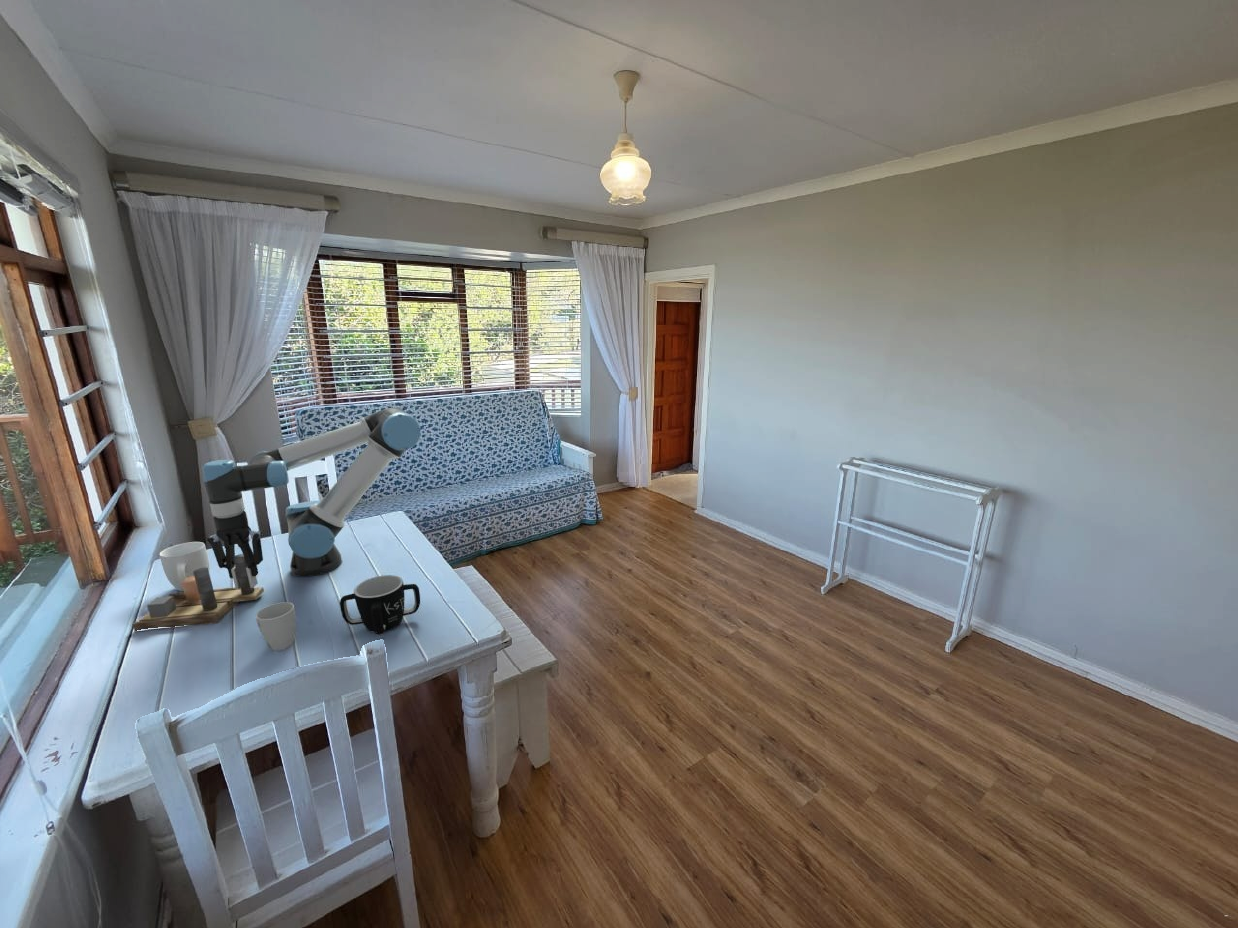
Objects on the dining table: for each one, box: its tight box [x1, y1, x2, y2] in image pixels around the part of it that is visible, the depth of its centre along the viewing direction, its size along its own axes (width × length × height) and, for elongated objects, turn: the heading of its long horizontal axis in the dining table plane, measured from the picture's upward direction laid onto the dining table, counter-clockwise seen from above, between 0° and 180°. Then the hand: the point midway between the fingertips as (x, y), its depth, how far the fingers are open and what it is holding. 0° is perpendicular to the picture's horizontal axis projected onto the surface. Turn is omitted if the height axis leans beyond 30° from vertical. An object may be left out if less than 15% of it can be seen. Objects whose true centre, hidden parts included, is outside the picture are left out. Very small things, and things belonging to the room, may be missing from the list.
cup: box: [255, 601, 297, 652], centre depth 128 cm, size 8×8×10 cm
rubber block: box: [146, 595, 177, 618], centre depth 139 cm, size 4×4×4 cm
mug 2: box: [339, 574, 421, 635], centre depth 136 cm, size 16×16×12 cm
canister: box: [182, 576, 201, 602], centre depth 147 cm, size 5×5×6 cm
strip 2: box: [182, 553, 265, 604], centre depth 148 cm, size 19×5×13 cm, turn 102°
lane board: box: [131, 586, 240, 632], centre depth 145 cm, size 20×16×2 cm
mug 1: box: [159, 541, 211, 592], centre depth 156 cm, size 15×11×13 cm
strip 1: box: [138, 567, 228, 622], centre depth 139 cm, size 19×5×13 cm, turn 102°
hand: (246, 586), depth 150 cm, fingers closed on strip 2, 3 cm apart
